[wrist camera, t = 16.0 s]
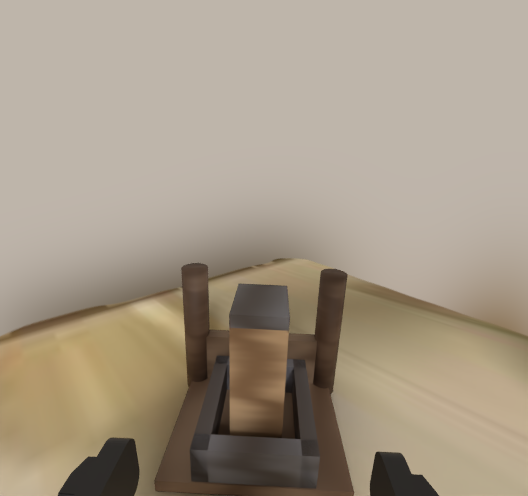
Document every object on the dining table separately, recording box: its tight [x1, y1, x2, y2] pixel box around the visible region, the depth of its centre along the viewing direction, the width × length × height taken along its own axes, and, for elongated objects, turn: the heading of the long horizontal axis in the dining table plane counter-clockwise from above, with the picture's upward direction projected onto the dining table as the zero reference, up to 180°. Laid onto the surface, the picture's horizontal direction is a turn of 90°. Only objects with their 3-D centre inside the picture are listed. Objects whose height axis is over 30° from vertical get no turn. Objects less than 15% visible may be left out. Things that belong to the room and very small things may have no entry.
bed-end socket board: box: [155, 263, 354, 496], centre depth 24 cm, size 15×12×13 cm
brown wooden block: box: [229, 284, 290, 438], centre depth 23 cm, size 4×5×12 cm
